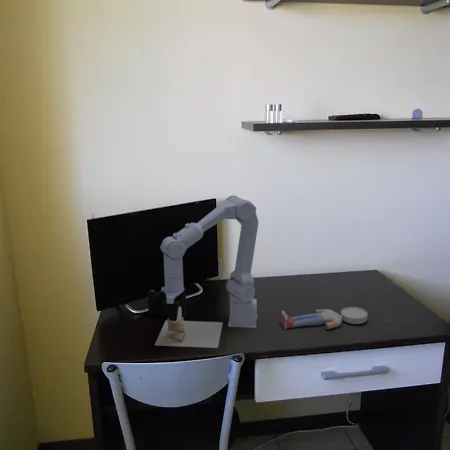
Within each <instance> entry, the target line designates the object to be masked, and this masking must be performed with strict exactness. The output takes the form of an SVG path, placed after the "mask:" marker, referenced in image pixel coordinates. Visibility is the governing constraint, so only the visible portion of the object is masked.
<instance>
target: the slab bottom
mask: <svg viewBox="0 0 450 450" xmlns="http://www.w3.org/2000/svg"><path fill="white" fill-rule="evenodd" d="M184 337H185V326H184V333H177V334H168V331H167V342H183V340H184Z"/></svg>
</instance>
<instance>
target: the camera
mask: <svg viewBox="0 0 450 450" xmlns="http://www.w3.org/2000/svg"><path fill="white" fill-rule="evenodd" d="M147 293H148V294H147V306H148V307H147V309H148V310H147V311H148V315H149V316H151V317H160V318H169V317H168V314H167V311H166V309H165V307H164V306H163V304H162V301H163V299H167V296H166V293H165V291H162V290H160V291H156V290H155V289H150V290H149V291H148V292H147ZM181 313H182V317H183V319H185V318H186V317H187V296H186V294H184V296H183V300H182V307H181Z"/></svg>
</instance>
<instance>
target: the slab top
mask: <svg viewBox="0 0 450 450" xmlns="http://www.w3.org/2000/svg"><path fill="white" fill-rule="evenodd" d="M167 320H168V334H177V333H184V321H185V320H184V318H183V317H182V322H181V323H179V324H171V323H170V322H169V317H167Z"/></svg>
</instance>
